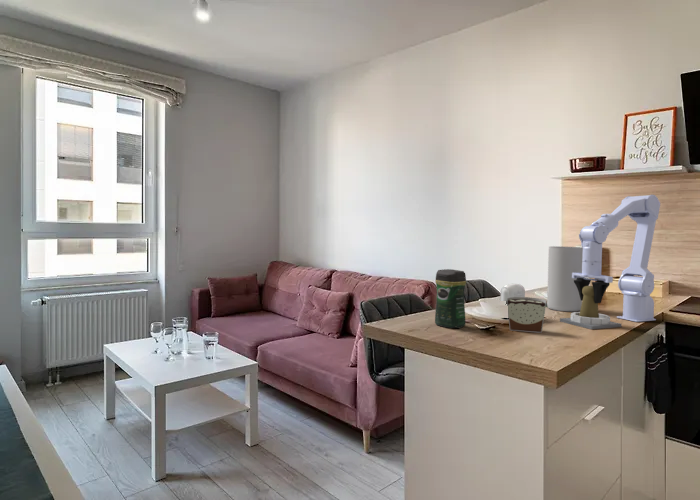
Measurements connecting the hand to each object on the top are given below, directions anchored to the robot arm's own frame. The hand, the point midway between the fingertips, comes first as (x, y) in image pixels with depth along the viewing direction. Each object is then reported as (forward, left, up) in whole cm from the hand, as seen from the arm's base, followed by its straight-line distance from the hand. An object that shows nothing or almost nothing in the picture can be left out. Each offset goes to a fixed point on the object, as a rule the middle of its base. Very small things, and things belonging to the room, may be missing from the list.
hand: (590, 301), depth 149 cm
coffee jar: (+47, -12, -8) cm, 49 cm away
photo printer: (+18, -17, -8) cm, 26 cm away
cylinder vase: (-14, -25, -8) cm, 30 cm away
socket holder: (0, 0, -8) cm, 8 cm away
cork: (0, 0, -6) cm, 6 cm away
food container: (+27, 0, -8) cm, 28 cm away
